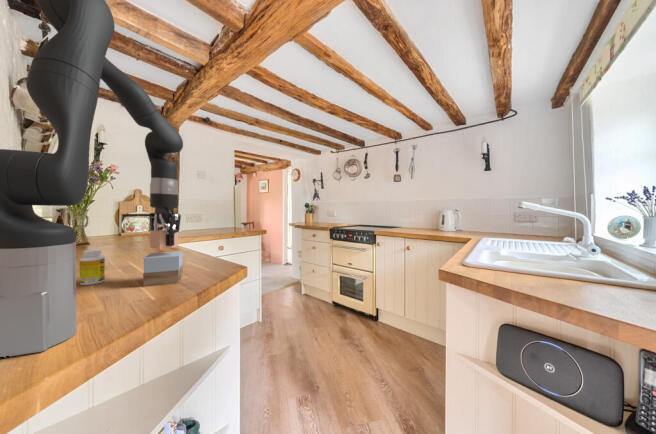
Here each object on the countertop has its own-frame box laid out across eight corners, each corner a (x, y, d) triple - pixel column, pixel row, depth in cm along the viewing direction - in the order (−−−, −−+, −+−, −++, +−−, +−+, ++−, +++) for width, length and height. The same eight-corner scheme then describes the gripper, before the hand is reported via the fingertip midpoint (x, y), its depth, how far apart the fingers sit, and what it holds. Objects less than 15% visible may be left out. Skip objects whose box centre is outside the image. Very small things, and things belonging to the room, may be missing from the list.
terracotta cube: (178, 246, 77) (178, 230, 77) (159, 249, 72) (159, 231, 72) (168, 245, 79) (168, 229, 79) (150, 247, 74) (150, 230, 74)
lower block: (178, 284, 74) (178, 270, 74) (143, 287, 70) (143, 272, 70) (182, 276, 82) (182, 263, 82) (151, 279, 78) (151, 266, 78)
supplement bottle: (103, 283, 72) (103, 250, 72) (77, 287, 69) (77, 252, 68) (105, 279, 76) (105, 248, 76) (81, 282, 73) (81, 250, 73)
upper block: (179, 270, 74) (179, 256, 73) (143, 273, 70) (143, 258, 70) (182, 263, 82) (182, 251, 82) (151, 266, 78) (151, 252, 78)
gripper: (189, 193, 75) (189, 245, 76) (164, 194, 82) (164, 241, 82) (164, 191, 68) (164, 248, 69) (139, 192, 75) (139, 244, 76)
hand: (164, 244), depth 76 cm, fingers closed on terracotta cube, 5 cm apart
